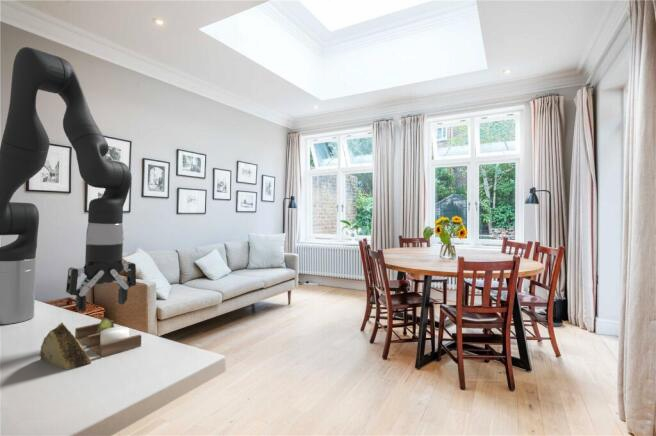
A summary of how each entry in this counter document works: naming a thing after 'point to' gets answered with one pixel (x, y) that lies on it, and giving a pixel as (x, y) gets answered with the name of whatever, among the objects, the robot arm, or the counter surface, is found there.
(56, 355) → the rock
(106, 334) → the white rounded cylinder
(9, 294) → the robot arm
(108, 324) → the lime
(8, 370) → the counter surface
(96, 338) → the rack
